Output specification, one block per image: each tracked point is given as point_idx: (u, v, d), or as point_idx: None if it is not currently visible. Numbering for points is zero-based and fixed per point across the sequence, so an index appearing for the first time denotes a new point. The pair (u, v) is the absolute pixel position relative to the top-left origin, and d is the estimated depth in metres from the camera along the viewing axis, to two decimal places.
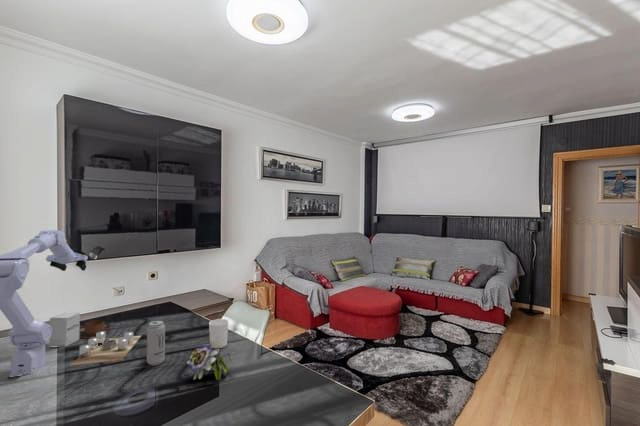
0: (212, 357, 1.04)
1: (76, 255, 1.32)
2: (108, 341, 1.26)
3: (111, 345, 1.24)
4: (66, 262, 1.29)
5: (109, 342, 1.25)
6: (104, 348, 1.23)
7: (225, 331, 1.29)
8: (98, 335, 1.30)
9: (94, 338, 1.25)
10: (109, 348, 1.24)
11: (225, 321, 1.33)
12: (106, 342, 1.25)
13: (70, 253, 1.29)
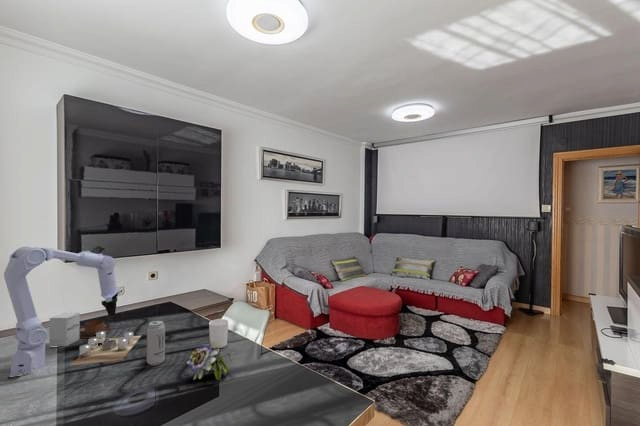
0: (212, 357, 1.04)
1: (112, 294, 1.31)
2: (108, 341, 1.26)
3: (111, 345, 1.24)
4: (101, 294, 1.30)
5: (109, 342, 1.25)
6: (104, 348, 1.23)
7: (225, 331, 1.29)
8: (98, 335, 1.30)
9: (94, 338, 1.25)
10: (109, 348, 1.24)
11: (225, 321, 1.33)
12: (106, 342, 1.25)
13: (106, 287, 1.30)
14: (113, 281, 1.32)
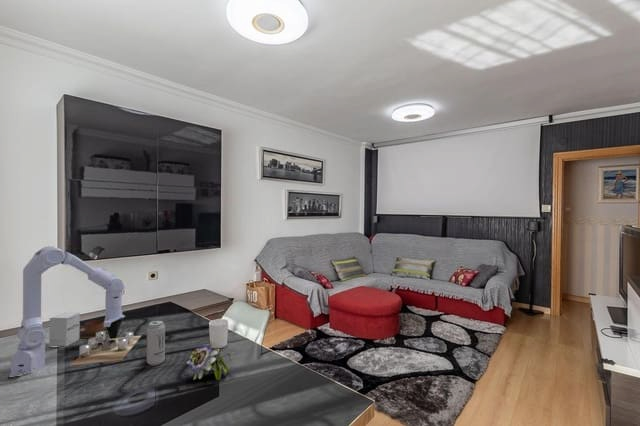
0: (212, 357, 1.04)
1: (113, 319, 1.27)
2: (108, 341, 1.26)
3: (111, 345, 1.24)
4: (105, 318, 1.28)
5: (109, 342, 1.25)
6: (104, 348, 1.23)
7: (225, 331, 1.29)
8: (98, 335, 1.30)
9: (94, 338, 1.25)
10: (109, 348, 1.24)
11: (225, 321, 1.33)
12: (106, 342, 1.25)
13: (110, 311, 1.27)
14: (118, 305, 1.29)
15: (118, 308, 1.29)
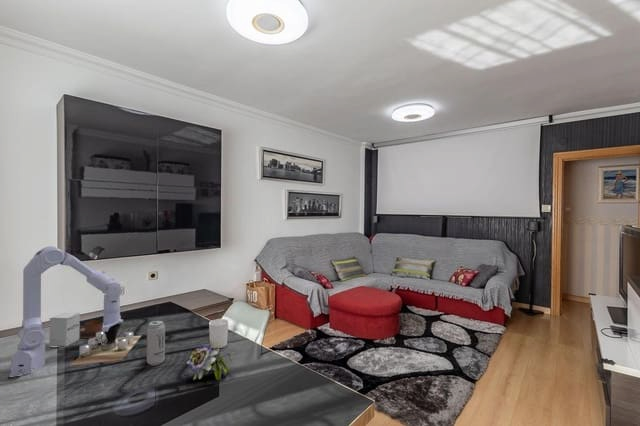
0: (212, 357, 1.04)
1: None
2: (107, 342, 1.26)
3: (111, 346, 1.24)
4: (103, 322, 1.27)
5: (108, 342, 1.25)
6: (104, 349, 1.23)
7: (225, 331, 1.29)
8: (98, 335, 1.30)
9: (94, 338, 1.25)
10: (109, 349, 1.23)
11: (225, 321, 1.33)
12: (106, 343, 1.25)
13: (108, 315, 1.26)
14: (116, 310, 1.28)
15: (116, 312, 1.28)
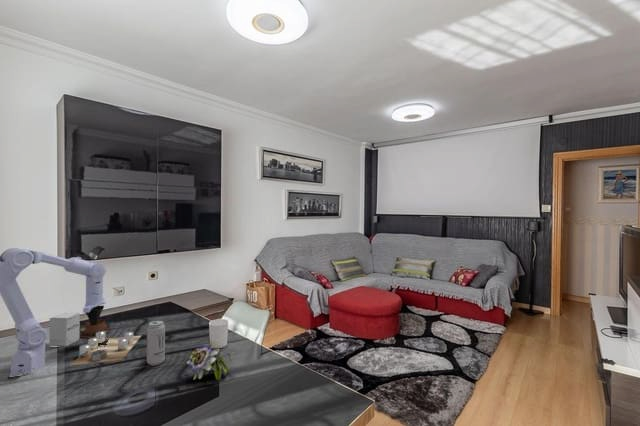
0: (212, 357, 1.04)
1: None
2: (98, 351, 1.17)
3: (101, 356, 1.15)
4: None
5: (99, 352, 1.16)
6: (93, 359, 1.14)
7: (225, 331, 1.29)
8: (98, 335, 1.30)
9: (94, 338, 1.25)
10: (99, 359, 1.14)
11: (225, 321, 1.33)
12: (96, 353, 1.16)
13: (90, 297, 1.24)
14: (100, 291, 1.27)
15: (99, 294, 1.26)
